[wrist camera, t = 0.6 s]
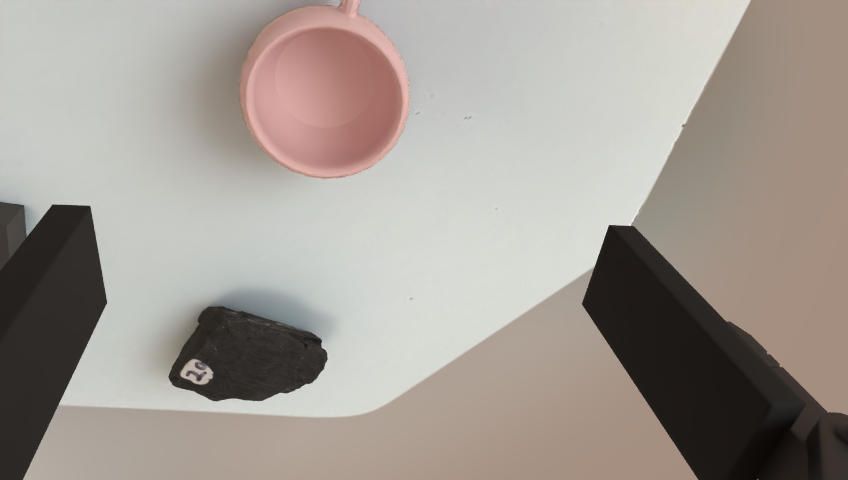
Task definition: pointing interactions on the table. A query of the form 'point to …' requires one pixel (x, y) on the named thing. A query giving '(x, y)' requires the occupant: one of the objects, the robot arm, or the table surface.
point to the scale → (11, 230)
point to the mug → (324, 91)
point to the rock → (246, 357)
